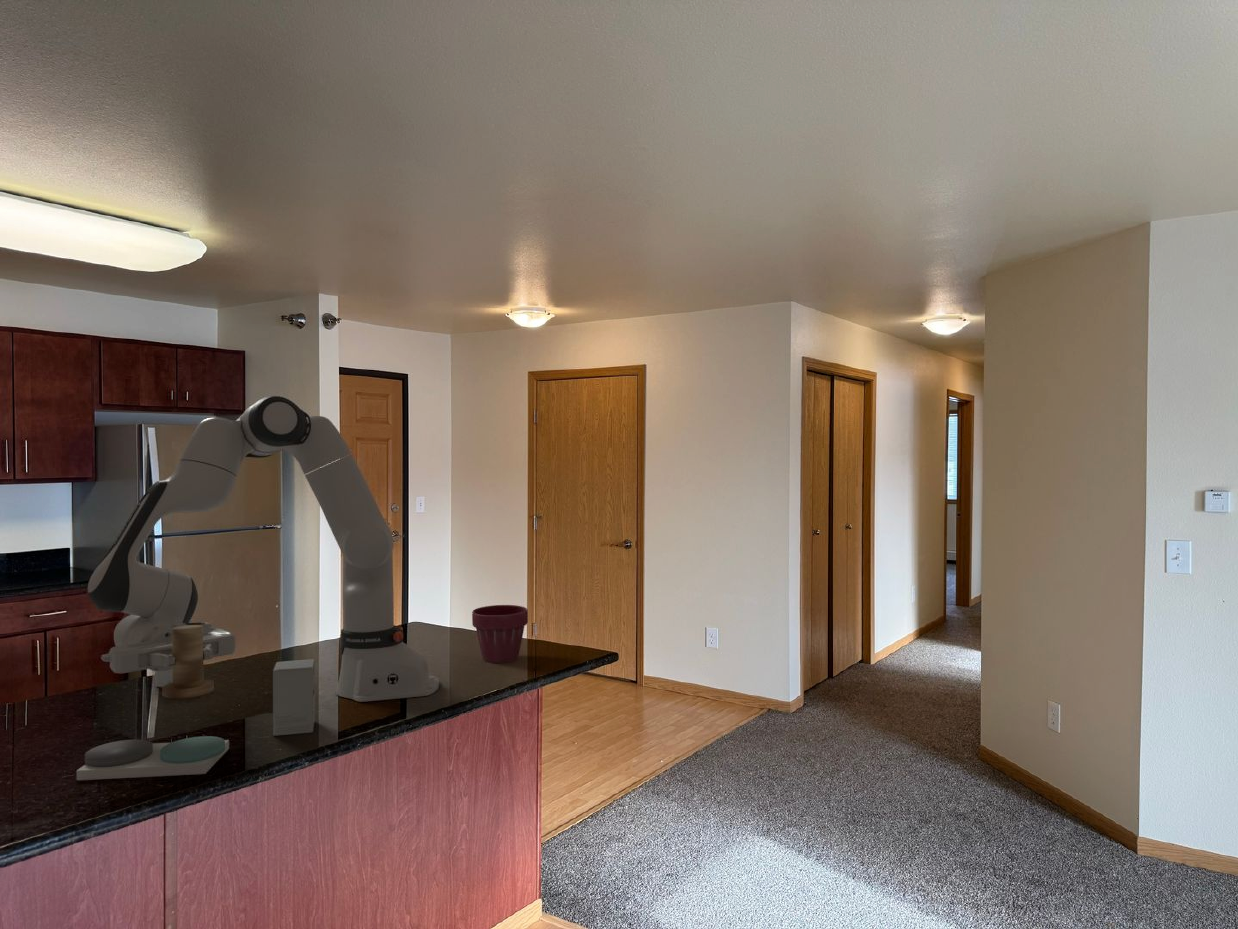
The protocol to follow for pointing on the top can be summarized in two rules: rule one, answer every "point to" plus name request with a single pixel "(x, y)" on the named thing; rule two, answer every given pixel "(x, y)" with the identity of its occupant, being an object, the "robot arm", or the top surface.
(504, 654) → the plant pot
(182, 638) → the brown cylinder round base
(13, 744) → the top surface
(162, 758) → the double oval pad board
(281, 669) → the supplement box
